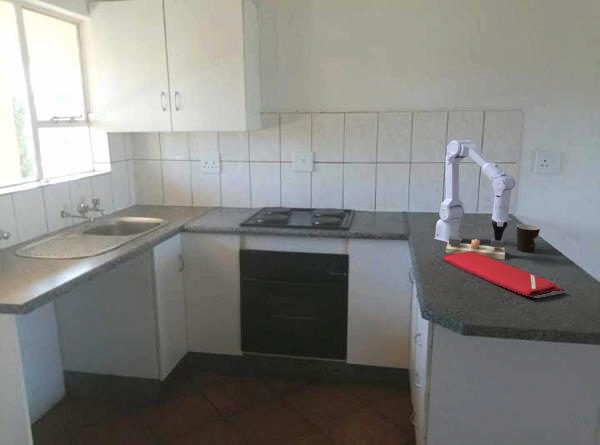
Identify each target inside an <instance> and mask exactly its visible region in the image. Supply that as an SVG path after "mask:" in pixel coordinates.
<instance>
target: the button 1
mask: <svg viewBox="0 0 600 445" xmlns="http://www.w3.org/2000/svg"><path fill="white" fill-rule="evenodd" d="M461 239H462V237H461V236H458V237H454V236H450V238H449V245H459V246H460V244H461V243H462V241H461Z"/></svg>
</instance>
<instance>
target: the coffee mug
mask: <svg viewBox="0 0 600 445" xmlns="http://www.w3.org/2000/svg"><path fill="white" fill-rule="evenodd" d="M540 231H541V227H540V226H537V225H534V224H517V225H516V250H517V251H519V252H521V253H525V254H526V253H527V254H529V253H530V254H531V253H534V252H535V250H536V249H535V248H536V246H537V242H538V237H539V235H540V234H539V233H540Z"/></svg>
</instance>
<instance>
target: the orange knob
mask: <svg viewBox="0 0 600 445" xmlns="http://www.w3.org/2000/svg"><path fill="white" fill-rule="evenodd" d="M470 244H471V248H472V249H479V247H480V245H481V240H480V239H477V238H475V239H471V242H470Z"/></svg>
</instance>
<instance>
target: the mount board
mask: <svg viewBox="0 0 600 445" xmlns="http://www.w3.org/2000/svg"><path fill="white" fill-rule="evenodd" d="M446 243H447V244H446V247H445V254H449V255H452V254H456V253H464V252H472V253H478V254H482V255H484V256H487V257H489V258H491V259H494V260H505V259H506V258H505V257H506V251H505V247H503V248H499V247H491V245H490V246H489V245H483V244H482V245H481V244H480V247H479V249H472V248H471V243H462V242H461V244H460V246H459V245H449V242H446Z"/></svg>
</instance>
